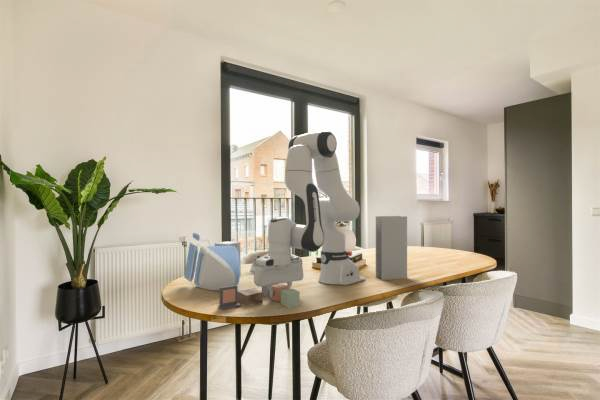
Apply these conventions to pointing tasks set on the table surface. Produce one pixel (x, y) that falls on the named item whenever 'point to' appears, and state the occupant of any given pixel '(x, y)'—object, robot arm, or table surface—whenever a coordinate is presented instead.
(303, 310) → the table surface
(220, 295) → the tile
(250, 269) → the running shoe
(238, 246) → the supplement box
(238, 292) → the brown curved block
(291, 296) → the sage cube
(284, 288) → the terracotta cube
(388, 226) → the tall grey pillar
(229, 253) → the retro all-in-one computer
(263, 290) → the slate cube
